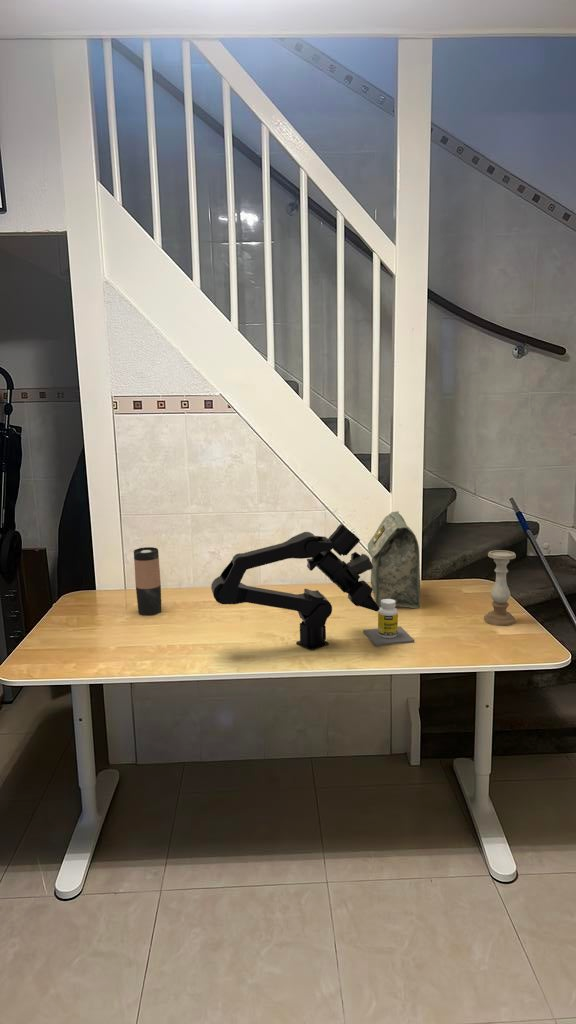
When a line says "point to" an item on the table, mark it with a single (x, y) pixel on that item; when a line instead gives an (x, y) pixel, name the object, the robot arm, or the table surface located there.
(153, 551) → the travel mug
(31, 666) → the table surface
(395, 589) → the bag
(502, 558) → the candle holder
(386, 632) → the supplement bottle
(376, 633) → the mat
